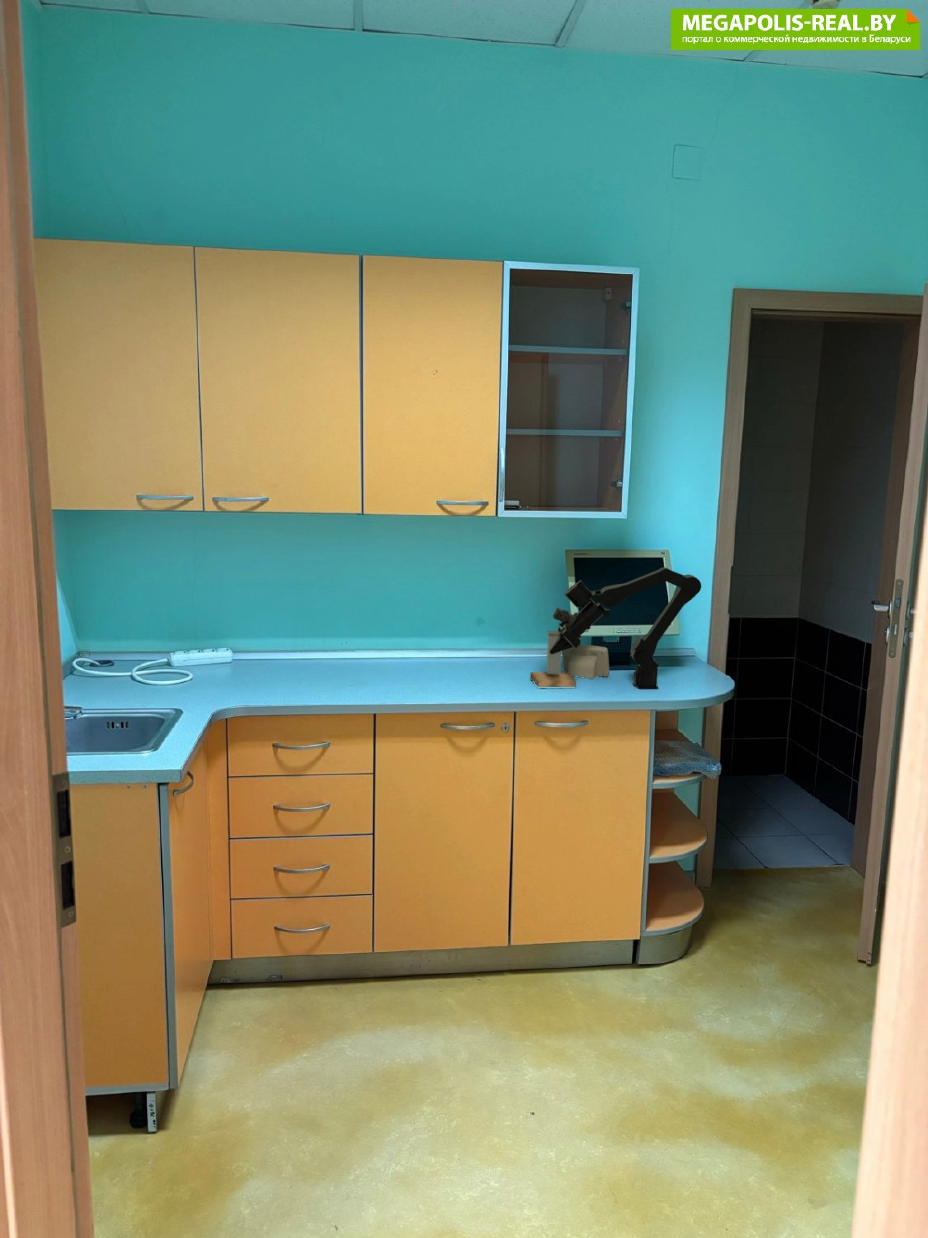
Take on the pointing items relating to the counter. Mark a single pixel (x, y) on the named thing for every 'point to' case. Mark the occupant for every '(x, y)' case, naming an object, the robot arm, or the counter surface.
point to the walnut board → (553, 679)
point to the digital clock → (586, 661)
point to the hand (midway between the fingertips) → (549, 651)
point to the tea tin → (555, 658)
